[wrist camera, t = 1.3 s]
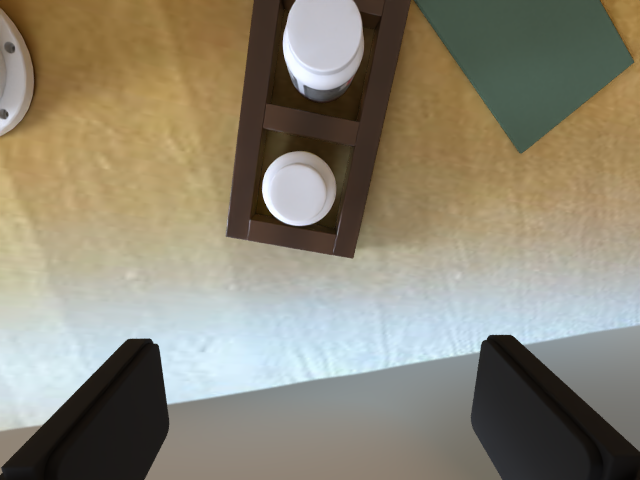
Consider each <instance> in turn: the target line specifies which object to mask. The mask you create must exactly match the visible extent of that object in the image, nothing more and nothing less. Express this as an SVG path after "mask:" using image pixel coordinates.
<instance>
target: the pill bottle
mask: <svg viewBox="0 0 640 480" xmlns="http://www.w3.org/2000/svg"><path fill="white" fill-rule="evenodd" d="M283 52H284V58H285V61H286V64H287V67H288V71H289V74H290V77H291V80H292V83H293V85H294V86H295V88H296V89H297V91H298V92H299V93H300V94H301V95H302V96H303V97H305V98H306V99H308V100H310V101H313V102H317V103H326V102H331V101H333V100H335V99H337V98H339V97H340V96H341V95H343V94H344V93H345V91H346V90H347V89H348V87H349V86H350V84H351V82H352V80H353V78H354V76H355V74H356V72H357V70H358V68H359V66H360V63H361V60H362V57H363V52H364V36H363V27H362V19H361V15H360V12H359V10H358V8H357V6H356V4H355V2H354V1H353V0H296V1H295V2H294V4H293V6H292V8H291V10H290V12H289V15H288V19H287V25H286V27H285V31H284V36H283Z"/></svg>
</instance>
